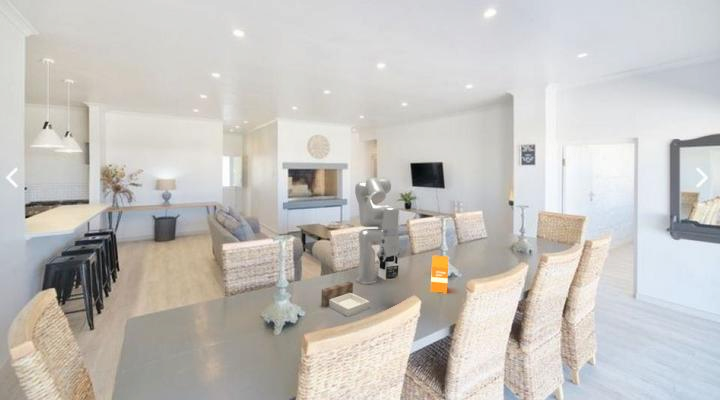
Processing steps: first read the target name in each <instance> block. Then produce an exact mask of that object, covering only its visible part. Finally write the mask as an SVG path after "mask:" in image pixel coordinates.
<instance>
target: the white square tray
mask: <svg viewBox="0 0 720 400" xmlns="http://www.w3.org/2000/svg"><path fill="white" fill-rule="evenodd" d="M370 303H371V301H370V300H367V299H366V298H363V297H361V296H359V295H356V294H354V293H353V294H352V293H348V294H345V295H342V296H338V297H335V298H332V299H329V306H328V307H329V308H331V309H332V310H334V311H337V312H338V313H340V314H342V315H344V316H346V317H350V316H351V317H352V316H353V315H356V314H359V313H362V312H364V311H365V310H368V309H370V306H371V305H370Z"/></svg>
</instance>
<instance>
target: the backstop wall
mask: <svg viewBox="0 0 720 400" xmlns="http://www.w3.org/2000/svg"><path fill="white" fill-rule="evenodd" d="M353 287H354V283H353V282H351V281H346V282H343V283H339V284H337V285H333V286H329V287H326V288H323V289H321V299H320V300H321V302H320V303H321V304H320V305H321V307H324V308H327V307H329V299H332V298H335V297H338V296H342V295H345V294H348V293H352V294H354V293H353V289H354V288H353Z"/></svg>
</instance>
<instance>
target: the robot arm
mask: <svg viewBox="0 0 720 400" xmlns="http://www.w3.org/2000/svg"><path fill="white" fill-rule="evenodd" d="M391 189H392V184H391V180H390V179H389V178H387V177H369V178H368V179H367V180H366V181H359V182H357V183H356V184H355V188H354V192H355V193H354V194H355V198H356V201H357V203H358V210H359V222H360V226H362V227H364V228H365V229H364V228H363V229H362V230H361V229H360V230H359V232H358V243H359V244H358V245H359V257H358V258H359V259H358V260H359V262H358V263H359V264H358V276H357V277H356V278H355V280H356V282H357V283H359V284H361V285H372V284H376V283H377V282H378V279H377V277H379V276H378V272H379V271H377V272H376V270H375V269H376V256H377V259H378V260H379V262H380V268H381V269H384V270H385V264H386V261H385V259H386V257H390V256H394V255H395V262H394V263H396V264H398V260H399V259H398V258H399V256H400V252H401V250H402V248H401V247H400V236H399V234H398V233H399V219H400V217H399V215H400V209H399V207H396V206H395V205H393V204H380V203H382V202H383V201H384V200H385V199H386V196H387V194H388V193H389V192H390V191H391ZM373 246H379V250H378V251H377V252H376V250H375V249H374V247H373ZM383 256H384V258H383Z"/></svg>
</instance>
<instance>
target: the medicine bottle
mask: <svg viewBox="0 0 720 400" xmlns="http://www.w3.org/2000/svg"><path fill="white" fill-rule="evenodd" d="M382 258H384V256H383V257H382ZM385 261H386V264H385V270H384V269H381V268H380V261H379V262H378V271H377V272H378V276H377V277H379V278H380V279H383V280H384V281H391V280H396V279H398V278H399V264H398V263H397V264H396V263H394V262H395V255H394V256H390V257H386V259H385Z"/></svg>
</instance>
